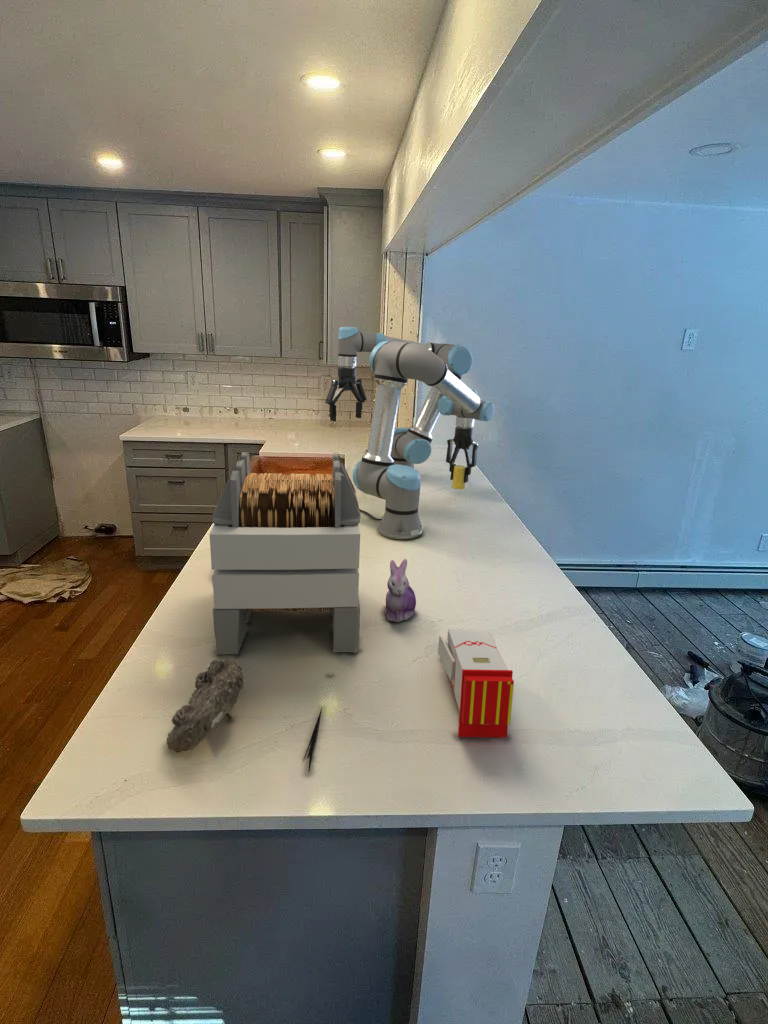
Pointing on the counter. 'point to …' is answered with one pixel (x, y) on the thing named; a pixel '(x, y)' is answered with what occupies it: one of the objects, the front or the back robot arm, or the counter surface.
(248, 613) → the transformer
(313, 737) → the feather
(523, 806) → the counter surface
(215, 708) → the fossil
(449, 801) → the counter surface
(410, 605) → the figurine
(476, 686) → the toy
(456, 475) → the yellow cylinder
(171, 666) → the counter surface
